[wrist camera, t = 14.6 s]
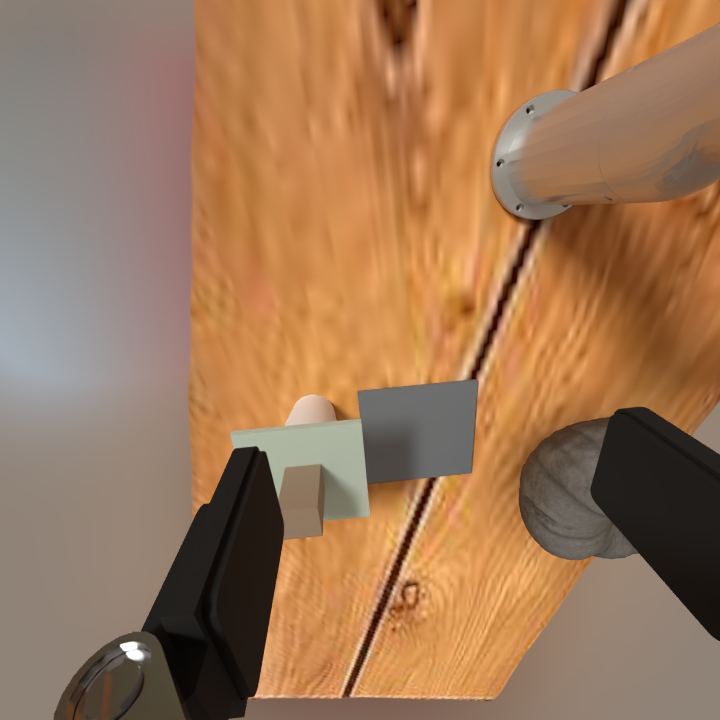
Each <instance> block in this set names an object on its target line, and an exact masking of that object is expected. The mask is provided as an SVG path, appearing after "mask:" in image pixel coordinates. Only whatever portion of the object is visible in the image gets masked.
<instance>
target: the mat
mask: <svg viewBox="0 0 720 720" xmlns="http://www.w3.org/2000/svg"><path fill="white" fill-rule="evenodd" d="M477 386H478V380H477V379H473V380H463V381H453V382H443V383H433V384H423V385H413V386H403V387H393V388H383V389H373V390H363V391H358V400H359V410H360V419H361V423H362V434H363V445H364V456H365V467H366V478H367V484H372V483H382V482H391V481H401V480H410V479H420V478H430V477H439V476H449V475H458V474H468V473H471V469H472V455H473V441H474V428H475V414H476V400H477Z"/></svg>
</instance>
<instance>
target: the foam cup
mask: <svg viewBox="0 0 720 720" xmlns="http://www.w3.org/2000/svg"><path fill="white" fill-rule="evenodd" d="M331 421H337V420H336V416H335V411H334V407H333V406H332V404H331V403H330V401H329V400H327V399H326V398H324V397H322V396H318V395H309V396H304V397H302V398H301V399H300V400H298V401H297V402H296V404H295V405H294V408H293V410H292V412H291V414H290V416H289V418H288V420H287V422H286V424H285V426H290V425H300V424H310V423H321V422H331Z"/></svg>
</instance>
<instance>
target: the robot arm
mask: <svg viewBox="0 0 720 720" xmlns="http://www.w3.org/2000/svg"><path fill="white" fill-rule="evenodd" d="M526 109H527V110H528V113H526ZM497 162H499V166H498V167H497ZM490 174H491V183H492V187H493V191H494V193H495V195H496V197H497V199H498V201H499V202H500V203H501V205H502V206H503V207H504V208H505V209H506V210H507V211H508V212H510V213H511V214H513V215H515V216H517V217H520V218H524V219H532V220H539V219H547V218H550V217H554V216H556V215H558V214H560V213H562V212H564V211H566V210H567V209H569V208H570V207H571V206H573V205H581V204H620V203H652V202H664V201H670V200H675V199H679V198H682V197H685V196H688V195H691V194H693V193H695V192H698V191H700V190H702V189H704V188H706V187H708V186H710V185H712V184H713V183H715V182H717V181H718V180H720V23H718V24H716V25H714V26H712V27H710V28H709V29H707V30H705V31H703V32H701V33H699V34H697V35H695V36H693V37H691V38H690V39H688V40H686V41H684V42H682V43H679V44H677V45H675V46H673V47H671V48H669V49H667V50H665V51H663V52H661V53H659V54H658V55H656V56H654V57H652V58H650V59H648V60H646V61H643V62H641V63H639V64H637V65H635V66H633V67H631V68H629V69H627V70H625V71H623V72H621V73H619V74H617V75H615V76H613V77H611V78H609V79H607V80H605V81H603V82H601V83H599V84H597V85H595V86H593V87H591V88H589V89H587V90H585V91H583V92H581V93H577V92H573V91H570V90H554V91H549V92H545V93H543V94H541V95H538V96H536V97H534V98H532V99H531V100H529V101H527V102H526V103H525V104H523V105H522V106H521V107H520V108H518V109H517V110H516V111H515V112H514V113H513V114H512V116H511V117H510V118H509V119H508V120H507V122H506V123H505V125H504V126H503V128H502V129H501V131H500V133H499V135H498V138H497V140H496V142H495V145H494V148H493V152H492V156H491V165H490ZM517 206H518V209H517V210H516V207H517ZM590 492H591V496H592V499H593V501H594V502H595V503H596V504H597V506H598V507H599V508H600V509H601V510H602V511H603V512H604V514H605V515H606V516H607V517H608V518H609V519H610V520H611V522H612V523H613V524H614V525H615V526H616V527H617V529H618V530H619V531H620V532H621V533H622V534H623V535H624V537H625V538H626V539H627V540H628V541H629V542H630V543H631V545H632V546H633V547H634V548H635V549H636V550H637V551H638V553H639V554H640V555H641V556H642V557H643V558H644V559H645V561H646V562H647V563H648V564H649V565H650V566H651V567H652V568H653V570H654V571H655V572H656V573H657V574H658V575H659V577H660V578H661V579H662V580H663V581H664V582H665V583H666V584H667V586H668V587H669V588H670V589H671V590H672V591H673V593H674V594H675V595H676V596H677V597H678V598H679V599H680V601H681V602H682V603H683V604H684V605H685V606H686V607H687V609H688V610H689V611H690V612H691V613H692V614H693V616H694V617H695V618H696V619H697V620H698V621H699V622H700V624H701V625H702V626H703V627H704V628H705V629H706V630H707V632H708V633H710V634H711V636H713V637H714V638H715V639H717V640H718V641H720V455H719V454H718V453H716V452H715V451H713V450H712V449H710V448H708V447H707V446H705V445H704V444H702V443H701V442H699V441H698V440H696V439H694V438H693V437H691V436H690V435H688V434H687V433H685V432H684V431H682V430H681V429H679V428H677V427H676V426H674V425H673V424H671V423H670V422H668V421H666V420H665V419H663V418H662V417H660V416H659V415H657V414H656V413H654V412H652V411H651V410H649V409H647V408H645V407H633V408H623V409H618V410H617V411H616V412H615V413H614V415H612V416H611V417H610V419H609V422H608V426H607V429H606V433H605V437H604V440H603V444H602V448H601V451H600V455H599V458H598V462H597V466H596V469H595V473H594V477H593V480H592V484H591V488H590ZM283 538H284V520H283V516H282V512H281V508H280V504H279V500H278V496H277V492H276V488H275V485H274V481H273V477H272V473H271V469H270V465H269V461H268V457H267V453H266V452H265V451H260V450H259V448H258V447H257V446H253V447H243V448H236V449H234V450H233V452H232V454H231V457H230V459H229V461H228V463H227V466H226V468H225V470H224V472H223V474H222V477H221V479H220V481H219V483H218V486H217V488H216V490H215V492H214V495H213V497H212V499H211V501H210V503H208V504H203V505H202V506H201V507H200V509H199V510H198V512H197V514H196V516H195V518H194V520H193V522H192V524H191V526H190V528H189V530H188V533H187V535H186V537H185V539H184V541H183V543H182V545H181V547H180V549H179V552H178V554H177V556H176V558H175V560H174V562H173V564H172V566H171V568H170V571H169V573H168V575H167V577H166V579H165V581H164V583H163V585H162V588H161V590H160V592H159V594H158V596H157V598H156V600H155V602H154V604H153V607H152V609H151V611H150V613H149V615H148V617H147V619H146V622H145V623H144V626H143V628H142V630H141V632H132V633H128V634H126V635H123V636H120V637H118V638H116V639H114V640H113V641H111V642H110V643H108V644H106V645H104V646H103V647H102V648H101V649H100V650H98V651H97V652H96V653H95V654H94V655H93V656H91V657H90V658H89V659H88V660H87V661H86V662H85V663H84V665H83V666H82V667H81V668H80V669H79V670H78V671H77V673H76V674H75V675H74V676H73V678H72V679H71V681H70V683H69V684H68V686H67V687H66V689H65V691H64V692H63V694H62V696H61V699H60V701H59V703H58V706H57V708H56V711H55V713H54V720H228V719H231V718H239V717H244V715H245V710H246V704H247V699H248V697H253V696H255V694H256V691H257V688H258V683H259V678H260V672H261V666H262V660H263V655H264V649H265V643H266V637H267V631H268V626H269V620H270V614H271V608H272V602H273V597H274V591H275V585H276V579H277V573H278V567H279V562H280V556H281V550H282V544H283Z"/></svg>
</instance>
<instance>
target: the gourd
mask: <svg viewBox="0 0 720 720" xmlns="http://www.w3.org/2000/svg"><path fill="white" fill-rule="evenodd" d="M609 419H610V418H601V419H596V420H591V421H584V422H579V423H576V424H573V425H569V426H567V427H565V428H563V429H561V430H558V431H556V432H554V433H553V434H552V435H551V436H550V437H548V438H546V439H544V440H543V441H542V442H541V443H540V444H539V445H538V447H537V449H536V450H534V451H533V452H532V453H531V454H530V456H529V457H528V459H527V461H526V463H525V464H524V466H523V468H522V471H521V476H520V488H519V506H520V512H521V516H522V519H523V521H524V523H525V526H526V528H527V530H528V531H529V533H530V534H531V536H532V537H533V538H534V540H535V541H536V542H537V543H538V544H539V545H540V546H541V547H542V548H543V549H545V550H546V551H547V552H549V553H550V554H552V555H555V556H557V557H560V558H563V559H568V560H582V559H586V558H589V557H591V556H596V557H601V558H609V559H614V558H625V557H627V556H630V555H631V554H637V553H638V551H637V550H636V549H635V548H634V547H633V546H632V545H631V543H630V542H629V541H628V540H627V539H626V538H625V537H624V535H623V534H622V533H621V532H620V531H619V530H618V529H617V527H616V526H615V525H614V524H613V523H612V522H611V520H610V519H609V518H608V517H607V516H606V515H605V514H604V512H603V511H602V510H601V509H600V508H599V507H598V506H597V504H596V503H595V502H594V501H593V499H592V496H591V492H590V488H591V484H592V480H593V477H594V473H595V469H596V466H597V462H598V458H599V455H600V451H601V448H602V444H603V440H604V437H605V433H606V429H607V426H608V422H609Z"/></svg>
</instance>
